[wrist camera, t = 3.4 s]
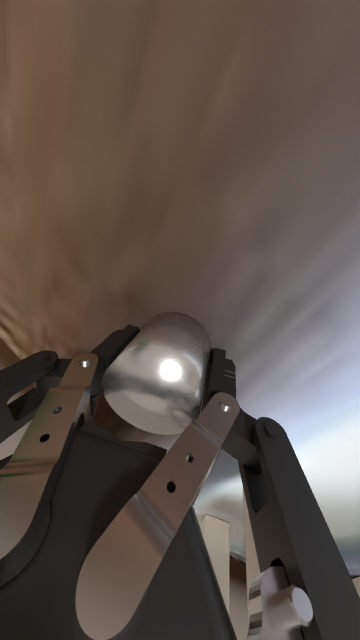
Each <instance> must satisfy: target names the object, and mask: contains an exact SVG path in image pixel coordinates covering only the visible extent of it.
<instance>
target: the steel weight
mask: <svg viewBox="0 0 360 640" xmlns="http://www.w3.org/2000/svg"><path fill="white" fill-rule="evenodd" d="M210 351H211V343H210V339H209V336H208V334H207V332H206V330H205V329H204V328H203V326H202V325H201V324H200V323H199V322H197V321H196V320H195V319H193V318H192V317H190V316H187V315H185V314H182V313H177V312H165V313H161V314H158V315H156V316H154V317H153V318H151V319H150V320H149V321H148V322H147V324H146V325H145V326H144V327H143V328H142V329H141V330H140V332H139V333H138V334H137V335H136V336H135V337H134V339H133V340H132V341H131V342H130V343H129V344H128V345H127V347H126V348H125V349H124V350H123V351H122V352H121V353H120V355H119V356H118V357H117V358H116V359H115V360H114V361H113V363H112V364H111V365H110V366H109V367H108V368H107V370H106V371H105V373H104V375H103V378H102V389H103V393H104V396H105V398H106V400H107V402H108V403H109V405H110V406H111V407H112V409H113V410H114V411H115V412H116V413H117V414H118V415H119V416H120V417H121V418H123V419H124V420H125V421H127V422H128V423H130V424H132V425H133V426H135V427H137V428H139V429H142V430H144V431H147V432H150V433H155V434H161V435H175V434H180V433H183V431H184V430H185V429H186V427H187V426H188V425H189V424H190V423H191V422H192V421H193V422H194V421H195V420H196V419H197V418H198V416H199V414H200V409H201V403H202V397H203V391H204V386H205V380H206V374H207V368H208V363H209V357H210Z"/></svg>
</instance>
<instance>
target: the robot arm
mask: <svg viewBox="0 0 360 640" xmlns="http://www.w3.org/2000/svg"><path fill="white" fill-rule="evenodd" d="M139 332H140V329H139V327H135V326H132V325H127V326H126V327H125V328H124V329H123V330H118V331H115V332H113V333H112V334H111V335H110V336H108V338H106V339H105V340H104V341H103V342H102V343H101V344H100V345H98V346H97V347H96V348H95V349H94V350H93V351H92V352H91V353H82V354H79V355H77V356H75V357H74V358H73V359H58V355H57V353H56V352H54V351H41V352H37V353H35V354H33V355H31V356H29V357H27V358H25V359H23V360H21V361H19V362H17V363H15V364H13V365H11V366H9V367H7V368H5V369H3V370H1V371H0V443H1V442H3V441H4V440H5V439H7V438H8V437H9V436H11V435H12V434H13V433H15V432H16V431H17V430H18V429H20V428H21V427H23V426H24V425H25V424H27V423H28V422H29V421H30V420H32V421H31V423H30V425H29V427H28V429H27V430H26V432H25V434H24V436H23V437H22V439H21V441H20V443H19V445H18V446H17V448H16V450H15V452H14V453H13V454H12V455H10V456H8V457H6V458H4V459H2V460H0V640H237V639H236V636H235V632H234V629H233V626H232V623H231V620H230V617H229V614H228V611H227V608H226V605H225V602H224V599H223V596H222V593H221V590H220V587H219V584H218V581H217V578H216V575H215V572H214V569H213V566H212V563H211V560H210V556H209V553H208V550H207V547H206V544H205V541H204V538H203V535H202V532H201V529H200V526H199V523H198V520H197V517H196V514H195V511H194V508H193V505H194V503H195V501H196V499H197V497H198V495H199V493H200V491H201V489H202V487H203V485H204V483H205V481H206V479H207V477H208V475H209V473H210V471H211V469H212V467H213V465H214V463H215V461H216V459H217V457H218V455H219V453H220V451H221V449H223V450H225V451H226V452H227V453H229V454H230V455H232V456H233V457H234V458H236V459H237V460H238V464H239V469H240V474H241V479H242V484H243V489H244V494H245V499H246V503H247V508H248V513H249V518H250V523H251V528H252V533H253V538H254V543H255V548H256V553H257V558H258V563H259V568H260V574H259V575H257V576H256V577H255V578H254V579H253V581H252V583H251V586H250V589H249V614H250V620H249V630H248V634H247V638H246V640H360V597H359V595H358V592H357V590H356V588H355V586H354V584H353V581H352V579H351V577H350V575H349V572H348V570H347V568H346V566H345V563H344V561H343V559H342V557H341V555H340V552H339V550H338V548H337V546H336V543H335V541H334V539H333V537H332V535H331V532H330V530H329V528H328V526H327V523H326V521H325V519H324V517H323V514H322V512H321V510H320V508H319V506H318V503H317V501H316V499H315V497H314V494H313V492H312V490H311V488H310V486H309V483H308V481H307V479H306V477H305V474H304V472H303V470H302V468H301V465H300V463H299V461H298V459H297V457H296V454H295V452H294V450H293V448H292V445H291V443H290V441H289V439H288V437H287V434H286V432H285V431H284V429H283V428H282V427H281V425H279V424H278V423H277V422H276V421H274V420H272V419H270V418H267V417H261V418H259V419H257V420H256V419H255V418H253V417H251V416H250V415H248V414H247V413H245V412H244V411H243V410H242V409H241V408H240V406H239V403H238V402H237V400H236V379H235V378H236V375H235V365H234V363H233V361H232V360H229V359H225V354H226V351H225V350H221V349H218V348H214V351H213V354H212V358H211V361H210V365H209V369H208V373H207V379H206V385H205V391H204V397H203V403H202V409H201V414H200V415H199V416H198V418H197V419H196V420H195V421H194V422H193V421H192V422H191V423H190V424H189V425H188V426H187V427H186V429H185V430H184V431H183V433H182V434H181V435H180V437H179V438H178V439H177V441H176V442H175V443H174V445H173V446H172V447H171V449H170V450H169V451H168V453H167V454H166V452H167V450H166V449H163V448H161V447H158V446H155V445H152V444H150V443H147V442H134V441H123V440H121V439H119V438H118V437H117V436H115V435H114V434H113V433H111V432H110V431H109V430H108V429H106V428H105V427H102V426H99V425H97V424H94V419H95V415H96V411H97V407H98V404H99V400H100V396H101V389H102V378H103V375H104V373H105V371H106V370H107V368H108V367H109V366H110V365H111V364H112V363H113V361H114V360H115V359H116V358H117V357H118V356H119V355H120V353H121V352H122V351H123V350H124V349H125V348H126V347H127V345H128V344H129V343H130V342H131V341H132V340H133V339H134V337H135V336H136V335H137V334H138V333H139ZM32 383H34V386H35V388H33V389H32V390H30V391H28V392H27V393H25V394H24V395H22V396H21V397H19V398H18V399H16V400H14V401H13V402H11V403H10V404H8V405H7V402H8V400H9V399H10V398H11V397H12V396H13V395H14V394H16V393H18V392H19V391H21V390H22V389H24V388H26V387H27V386H29V385H31V384H32Z"/></svg>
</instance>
